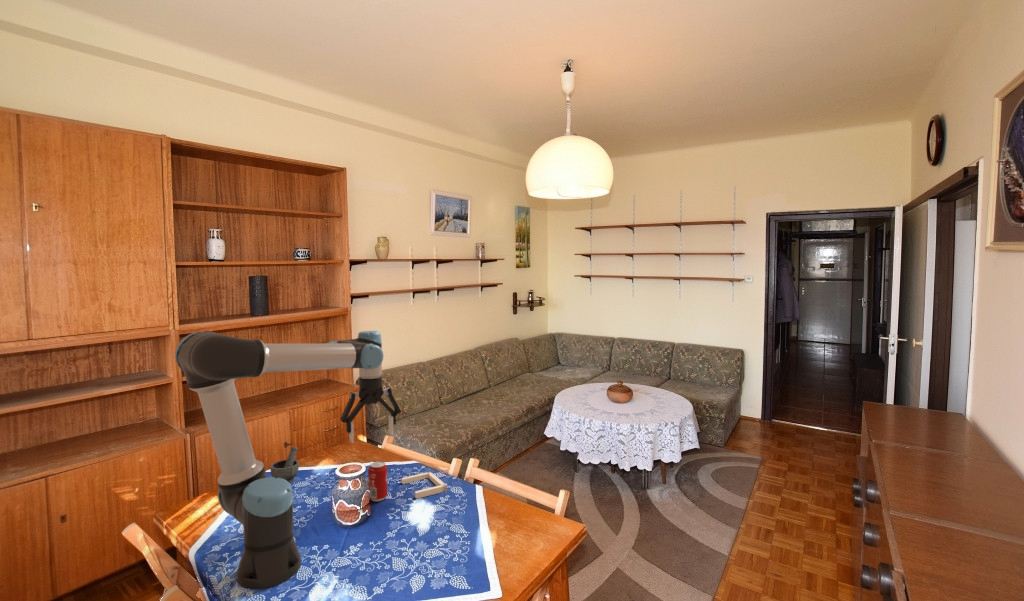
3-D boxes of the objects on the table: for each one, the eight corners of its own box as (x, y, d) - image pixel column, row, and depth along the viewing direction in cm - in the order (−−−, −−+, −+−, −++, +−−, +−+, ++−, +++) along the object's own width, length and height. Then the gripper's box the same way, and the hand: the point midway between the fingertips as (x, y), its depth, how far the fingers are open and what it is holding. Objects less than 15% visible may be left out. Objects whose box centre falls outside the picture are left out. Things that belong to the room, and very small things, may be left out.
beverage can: (391, 497, 168) (390, 463, 168) (377, 504, 163) (376, 469, 162) (378, 492, 171) (378, 459, 171) (364, 499, 166) (364, 465, 166)
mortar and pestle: (286, 489, 175) (285, 456, 174) (264, 486, 177) (264, 453, 177) (307, 477, 185) (307, 446, 185) (287, 474, 188) (286, 443, 188)
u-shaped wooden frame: (447, 491, 173) (447, 485, 173) (416, 498, 167) (416, 493, 167) (430, 476, 185) (430, 471, 185) (401, 483, 179) (401, 478, 179)
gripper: (401, 370, 175) (402, 428, 176) (329, 378, 162) (331, 441, 163) (409, 374, 169) (410, 434, 170) (335, 382, 155) (337, 448, 156)
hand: (371, 437), depth 166 cm, fingers open, 13 cm apart
